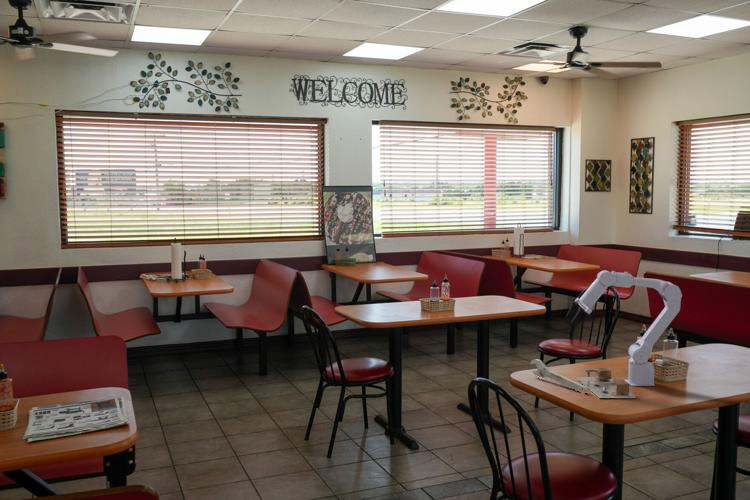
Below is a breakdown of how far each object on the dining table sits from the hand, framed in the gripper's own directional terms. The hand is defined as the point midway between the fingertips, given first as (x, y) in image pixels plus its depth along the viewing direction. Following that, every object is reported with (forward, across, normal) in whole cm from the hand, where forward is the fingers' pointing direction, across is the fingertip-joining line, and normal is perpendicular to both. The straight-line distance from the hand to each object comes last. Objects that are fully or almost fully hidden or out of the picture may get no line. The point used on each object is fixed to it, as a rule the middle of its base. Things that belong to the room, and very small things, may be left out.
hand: (570, 321), depth 278 cm
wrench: (+24, +9, +9) cm, 27 cm away
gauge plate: (+13, +14, +23) cm, 30 cm away
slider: (+13, +4, +23) cm, 26 cm away
